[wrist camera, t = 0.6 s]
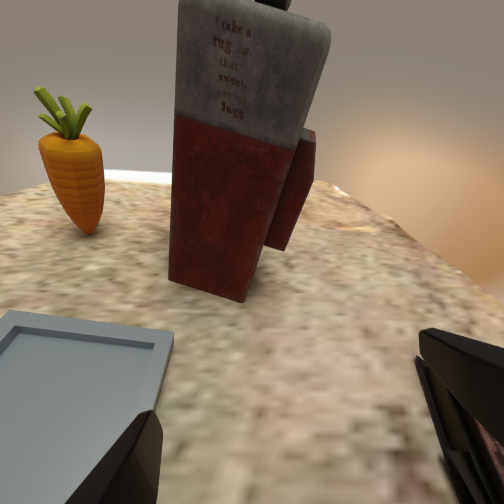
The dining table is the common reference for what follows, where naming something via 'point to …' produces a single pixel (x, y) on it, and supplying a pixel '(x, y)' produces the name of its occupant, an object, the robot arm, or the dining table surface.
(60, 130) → the carrot
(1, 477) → the slate tray
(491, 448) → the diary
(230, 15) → the dark red canister
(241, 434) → the dining table surface
